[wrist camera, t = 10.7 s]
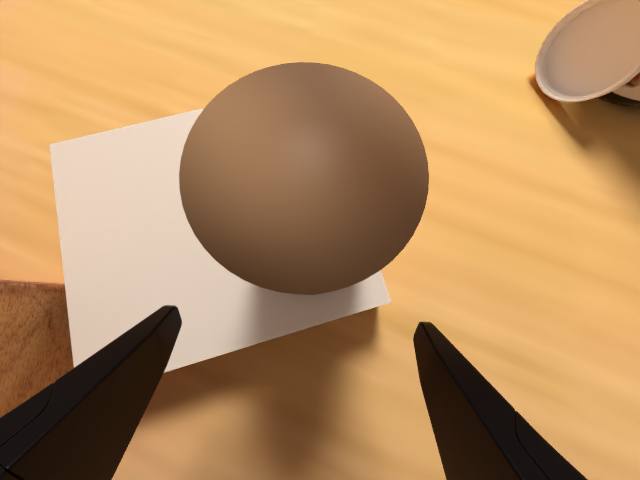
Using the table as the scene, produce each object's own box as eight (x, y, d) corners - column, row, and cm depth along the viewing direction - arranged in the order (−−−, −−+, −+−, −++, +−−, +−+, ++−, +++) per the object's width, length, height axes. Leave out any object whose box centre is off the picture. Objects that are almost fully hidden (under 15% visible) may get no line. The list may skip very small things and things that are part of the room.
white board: (122, 379, 18) (77, 399, 15) (92, 168, 21) (49, 144, 17) (377, 300, 19) (391, 302, 16) (316, 114, 22) (317, 81, 19)
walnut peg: (297, 313, 18) (263, 354, 6) (248, 235, 19) (132, 134, 7) (373, 260, 19) (481, 201, 7) (322, 189, 20) (337, 24, 8)
